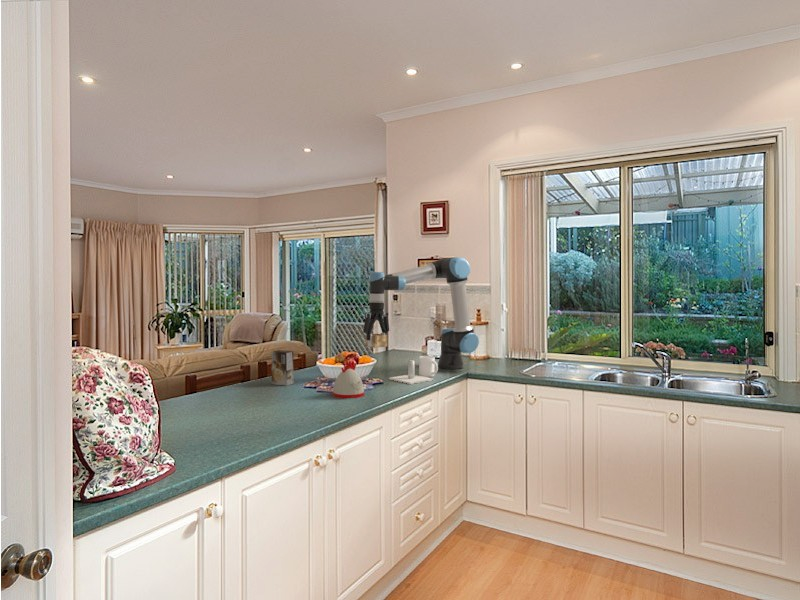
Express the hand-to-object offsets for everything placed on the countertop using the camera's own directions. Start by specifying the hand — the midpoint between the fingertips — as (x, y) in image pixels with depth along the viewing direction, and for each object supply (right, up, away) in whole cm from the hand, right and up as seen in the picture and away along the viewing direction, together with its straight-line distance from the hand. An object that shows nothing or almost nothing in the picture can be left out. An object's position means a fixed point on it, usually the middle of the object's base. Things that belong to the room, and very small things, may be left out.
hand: (376, 345), depth 269 cm
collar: (0, 0, 0) cm, 0 cm away
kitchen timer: (-11, -19, -37) cm, 43 cm away
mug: (+28, -17, +8) cm, 34 cm away
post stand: (+18, -17, -2) cm, 25 cm away
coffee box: (-45, -17, -15) cm, 51 cm away
